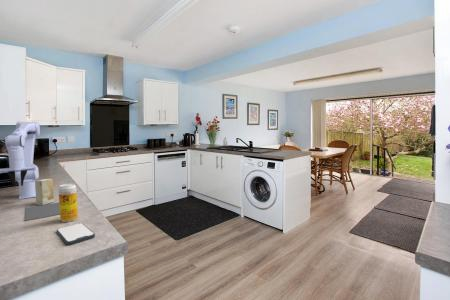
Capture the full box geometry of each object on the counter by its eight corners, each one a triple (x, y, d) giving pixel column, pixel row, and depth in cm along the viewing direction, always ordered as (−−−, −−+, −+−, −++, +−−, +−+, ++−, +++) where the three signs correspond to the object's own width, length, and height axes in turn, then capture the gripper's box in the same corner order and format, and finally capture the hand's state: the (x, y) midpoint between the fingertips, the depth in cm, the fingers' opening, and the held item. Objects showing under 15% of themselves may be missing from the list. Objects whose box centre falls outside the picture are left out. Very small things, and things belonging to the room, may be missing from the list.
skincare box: (42, 205, 115) (41, 181, 114) (35, 205, 116) (33, 180, 115) (54, 201, 121) (53, 178, 121) (47, 201, 122) (46, 178, 121)
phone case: (55, 233, 87) (67, 247, 76) (55, 229, 86) (66, 242, 76) (82, 226, 93) (96, 238, 82) (82, 222, 93) (96, 233, 82)
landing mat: (26, 208, 112) (26, 207, 111) (63, 202, 121) (63, 201, 121) (24, 221, 96) (24, 220, 96) (68, 213, 106) (68, 212, 106)
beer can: (59, 223, 94) (57, 187, 92) (61, 218, 99) (59, 184, 97) (77, 221, 96) (75, 185, 95) (78, 216, 102) (76, 182, 100)
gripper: (-5, 161, 109) (-3, 189, 110) (35, 158, 118) (37, 185, 119) (-3, 159, 114) (-1, 186, 115) (35, 157, 123) (37, 182, 124)
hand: (18, 185), depth 118 cm, fingers closed
